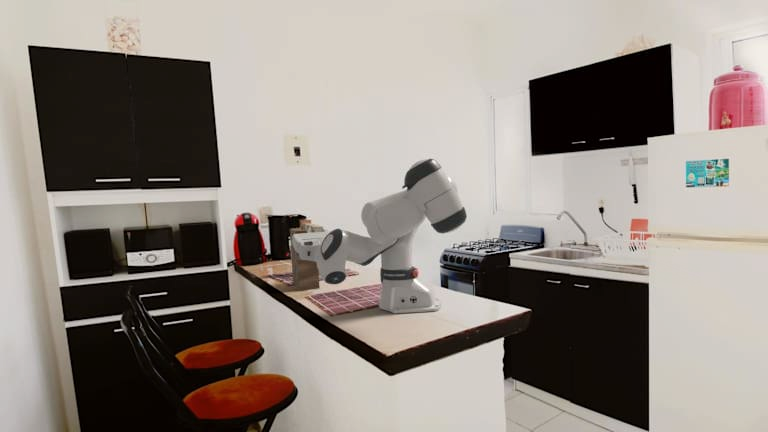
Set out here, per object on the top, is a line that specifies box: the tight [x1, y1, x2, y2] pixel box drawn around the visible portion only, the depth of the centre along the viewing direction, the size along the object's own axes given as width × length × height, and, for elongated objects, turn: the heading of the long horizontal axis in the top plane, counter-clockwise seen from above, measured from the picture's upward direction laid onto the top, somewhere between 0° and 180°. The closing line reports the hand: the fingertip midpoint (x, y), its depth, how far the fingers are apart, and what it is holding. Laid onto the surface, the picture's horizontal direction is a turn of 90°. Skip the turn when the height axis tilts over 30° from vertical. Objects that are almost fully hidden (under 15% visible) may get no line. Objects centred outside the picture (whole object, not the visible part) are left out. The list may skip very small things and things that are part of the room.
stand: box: [289, 227, 320, 292], centre depth 188 cm, size 16×9×26 cm, turn 22°
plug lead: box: [299, 219, 323, 233], centre depth 167 cm, size 25×4×4 cm, turn 22°
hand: (315, 228), depth 159 cm, fingers closed on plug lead, 3 cm apart
